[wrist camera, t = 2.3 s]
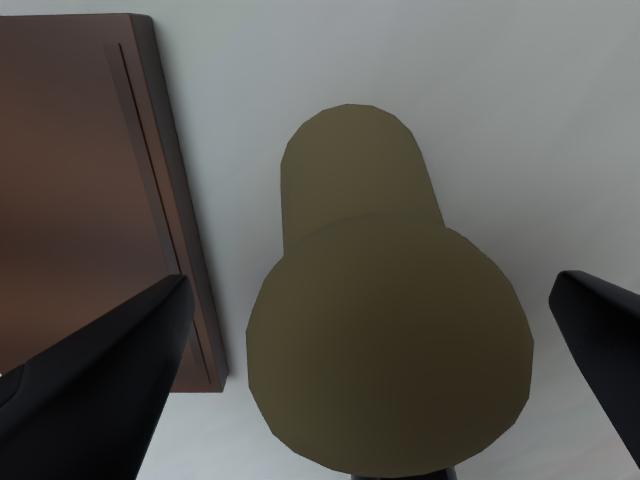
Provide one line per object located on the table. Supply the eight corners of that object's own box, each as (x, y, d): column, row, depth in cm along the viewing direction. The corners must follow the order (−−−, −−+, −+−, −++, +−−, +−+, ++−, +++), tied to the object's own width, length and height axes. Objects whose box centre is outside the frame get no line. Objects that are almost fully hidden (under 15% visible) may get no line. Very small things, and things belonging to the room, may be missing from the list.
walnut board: (229, 371, 21) (222, 394, 20) (32, 371, 21) (12, 395, 20) (150, 15, 12) (127, 12, 11) (-190, 23, 12) (-255, 22, 11)
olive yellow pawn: (289, 245, 17) (241, 526, 7) (268, 111, 14) (135, 287, 4) (419, 235, 16) (554, 519, 7) (427, 96, 13) (691, 250, 4)
